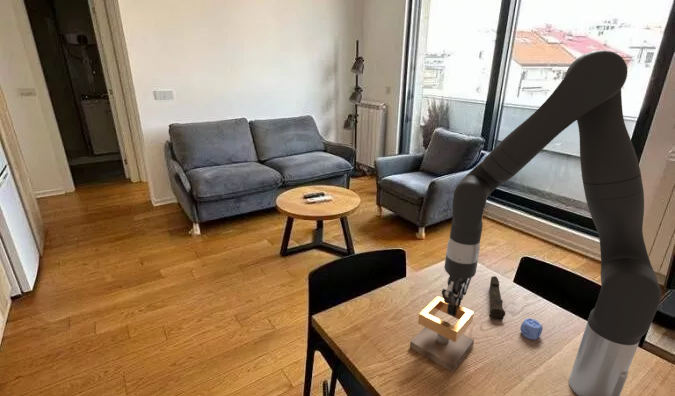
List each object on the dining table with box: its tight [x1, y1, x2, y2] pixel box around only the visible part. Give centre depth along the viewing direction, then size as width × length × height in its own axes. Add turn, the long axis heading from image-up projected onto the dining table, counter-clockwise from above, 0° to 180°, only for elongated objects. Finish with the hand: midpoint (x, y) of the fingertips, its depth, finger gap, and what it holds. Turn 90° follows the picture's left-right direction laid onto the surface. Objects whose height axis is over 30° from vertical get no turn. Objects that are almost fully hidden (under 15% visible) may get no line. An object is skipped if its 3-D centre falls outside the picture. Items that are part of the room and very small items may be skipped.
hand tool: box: [488, 276, 506, 321], centre depth 115 cm, size 19×4×5 cm, turn 160°
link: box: [417, 295, 475, 342], centre depth 93 cm, size 10×10×3 cm
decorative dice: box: [520, 318, 543, 341], centre depth 101 cm, size 4×4×4 cm
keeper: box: [409, 320, 475, 373], centre depth 96 cm, size 12×12×7 cm
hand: (453, 312), depth 97 cm, fingers closed on link, 1 cm apart
